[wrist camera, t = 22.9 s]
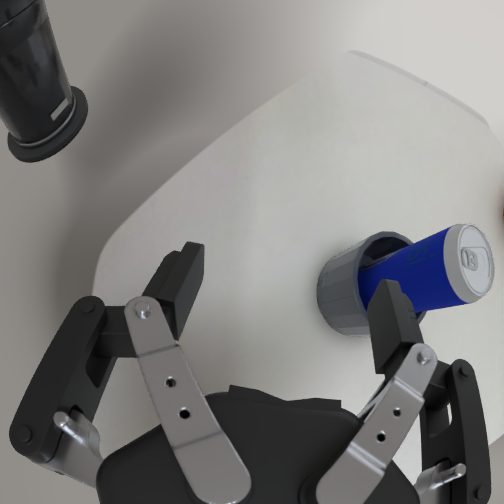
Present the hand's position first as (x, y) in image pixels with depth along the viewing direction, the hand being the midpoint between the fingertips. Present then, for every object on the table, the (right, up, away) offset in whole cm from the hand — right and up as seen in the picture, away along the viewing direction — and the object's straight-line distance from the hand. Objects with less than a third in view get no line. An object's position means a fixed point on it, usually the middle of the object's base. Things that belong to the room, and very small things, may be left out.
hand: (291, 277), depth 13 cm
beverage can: (+9, -3, +15) cm, 18 cm away
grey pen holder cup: (+9, -3, +16) cm, 19 cm away
